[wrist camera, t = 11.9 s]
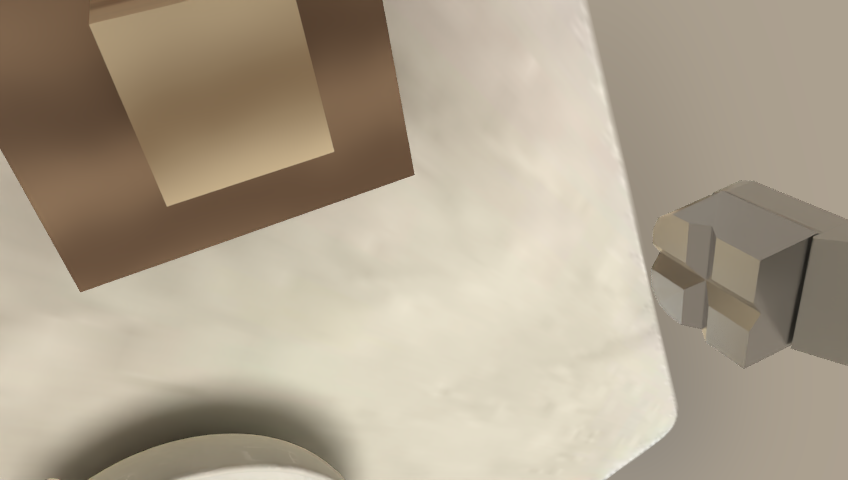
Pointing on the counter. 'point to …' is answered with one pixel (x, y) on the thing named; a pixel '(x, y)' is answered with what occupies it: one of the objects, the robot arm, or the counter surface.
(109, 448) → the counter surface
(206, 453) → the serving bowl
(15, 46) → the plinth
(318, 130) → the beech cube
